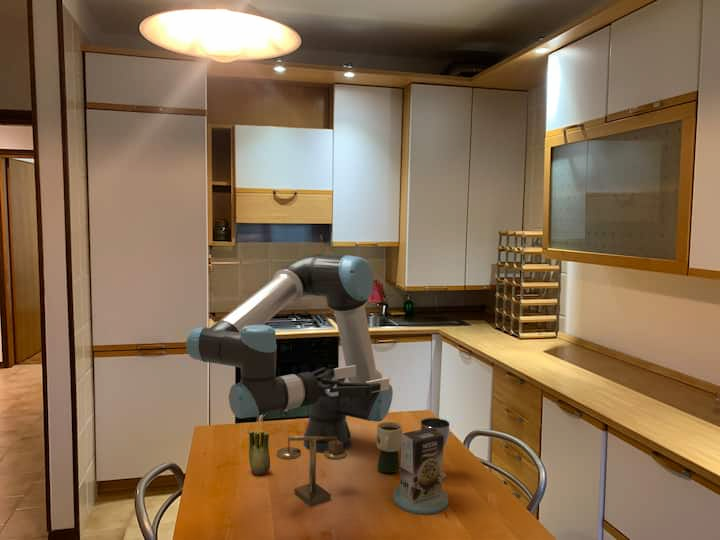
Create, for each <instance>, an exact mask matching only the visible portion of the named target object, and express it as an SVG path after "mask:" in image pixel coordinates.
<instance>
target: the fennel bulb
mask: <svg viewBox="0 0 720 540" xmlns="http://www.w3.org/2000/svg"><path fill="white" fill-rule="evenodd" d="M248 435H249V437H248V439H249V447H248V458H249V459H248V460H249V466H250V468H251V471H252V473H253V474H254V475H257V476H262V475H265V474H266V473H268V472H269V471H270V469H271V457H270V452H269V451H270V450H269V439H270V433H268V432H266V431H264V430H261V431H254V430H250V431H249V432H248Z"/></svg>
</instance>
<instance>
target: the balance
mask: <svg viewBox="0 0 720 540" xmlns="http://www.w3.org/2000/svg"><path fill="white" fill-rule="evenodd" d="M304 440H310V449H309V481H308V482H309V483H306V484H303V485H299V486H297V487H296V486H295V487H294V488H293V489H294V495H296V497H298V498H299V499H300V500H302V501H303V502H304V503H305V504H307V505H308V506H309V507H313V506H316V505H320V504H323V503H325V502H326V503H327V502H329V501H331V499H332V497H331V496H332V494H331V493H330V492H329V491H327V490H326V489H325V488H323V487H322V486H320V485H319V484H318V483H317V451H316V440H334V441H330V442H328V450H326V451H325V452H323V453H324V454H323V456H324V458H326V459H328V460H332V461H334V460H335V461H340V460H343V459H346V458H347V457H348V451H347V450H346V449H344V450H343V443H342V442H340V441H339V440H337V436H304V435H303V436H297V435H296V436H295V435H294V436H292V435H291V436H288V437H287V441H288V442H287V447H282V448H280V449H278V450H277V451H276V457H277V458H279V459H281V460H285V461H287V460H288V461H289V460H290V461H291V460H296V459H297V458H300V457H301V456H302V450H301V449H299V448H297V447H294V446H293V447H290V443H291V442H293V441H295V442H296V441H297V442H299V441H304ZM290 441H291V442H290Z"/></svg>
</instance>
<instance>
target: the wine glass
mask: <svg viewBox="0 0 720 540" xmlns="http://www.w3.org/2000/svg"><path fill="white" fill-rule="evenodd" d="M427 428H430V429H432V430H434V431H436V432H438V433H440V434H442V435H444V445H443V448H444V447H445V446H446V444H447V442H448V438H449V435H450V422H449V421H448V420H447V419H445V418H444V419H443V418H440V417H427V418H426V417H425V418H423V419H421V420H420V430H422V429H427ZM444 472H445V471H444ZM444 472H443V470H442V480H443V478H444V477H445V475H446V476H447V473H446V472H445V473H446V474H445V473H444ZM445 478H446V477H445ZM445 478H444V479H445Z"/></svg>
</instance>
